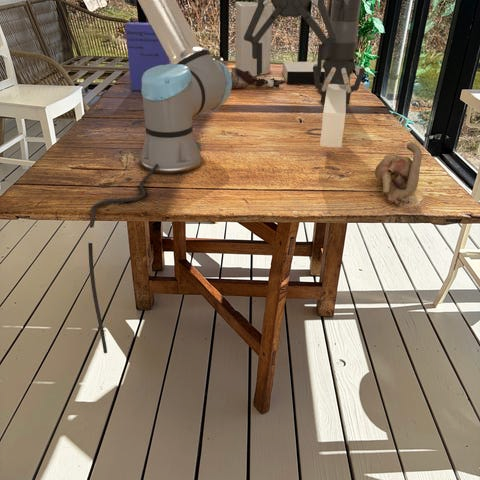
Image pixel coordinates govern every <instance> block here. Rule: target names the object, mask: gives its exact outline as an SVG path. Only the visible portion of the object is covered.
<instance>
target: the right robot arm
mask: <svg viewBox="0 0 480 480" xmlns="http://www.w3.org/2000/svg"><path fill="white" fill-rule="evenodd" d="M361 6H362V0H327V3H326V10H327V12H328V15H329V18H330V20H331V23H332V25H333V28H334V30H335V33H336V36H337V39H336V41H335V42H331V43H329V44H328V51H327V58H326V60H323V62H322V65H321V69H322V68H324V70H325V72H324V82H321V83H320V79H319V77H317V64H315V65H314V66H313V74H314V81H315V84H314V87H315V89H316V90H318V92H319V94H320V103H321V104H322V106H324V104H325V98H326V91H327V87H328V85H329V84H339V85H345V87H346V107H347V105H349V104H350V103H351V102H350V101H351V94H352V92H357V91H358V90H359V88H360V85H361V83H362V80H363V78H364V75H365V72H366V68H365V67H364V66H363V65H362V66H358V65H356V62H355V58H356V50H357V43H358V37H359V19H360V13H361V12H360V11H361ZM326 37H329V34H328V33H327V34H326ZM354 70H355V75H356V79H355V81H354V83H353V84H352V85H351V82H350V81H351V76H352V75H351V74H352V73H353V72H354Z"/></svg>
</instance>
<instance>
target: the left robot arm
mask: <svg viewBox="0 0 480 480" xmlns="http://www.w3.org/2000/svg"><path fill="white" fill-rule="evenodd" d="M137 1H138V3H139V5H140V7H141V9H142V11H143V13H144V15H145V17H146V18H147V20H148V23H150V24H151V26H152V28H153V30H154V32H155V33H156V35H157V37H158V39H159V41H160V43H161V45H162V47H163V49H164V50H165V52H166V54H167V56H168V58H169V60H170V62H171V64H166V65H159V66H155V67H153V68H150V69H148V70H147V71H146V72H145V73H144V74H143V76H142V90H141V91H140V93H141V98H142V106H143V115H144V125H145V138H144V142H143V146H142V150H141V154H140V162H141V166H142V168H144V169H145V170H146V171H149V172H148V173H147V174H146V175H145V176H144V177H143V178H142V180H141V181H140V182H139V189H140V191H141V194H140V195H138V196H135V197H125V198H108V199H104V200H100V201H98V202H96V203H94V204H93V205H92V206H91V208H90V222H89V229H92V228H94V227H95V220H96V209H97V208H99V207H101V206H103V205H106V204H112V203H132V202H138V201H140V200H142V199H144V198H145V197H146V195H147V192H146V189H145V188H144V185H145V183H146V181H148V179H149V178H151V176H152V175H153V174H154V173H156V174H163V175H164V174H165V175H169V174H170V175H172V174H173V175H175V174H182V173H187V172H190V171H193V170H195V169H197V168H198V167H199V166H201V163H202V155H201V151H202V145H201V144H200V143H199V142H197V140H196V137H195V135H194V130H193V129H194V126H193V117H194V116H198V115H200V114H203V113H205V112H208V111H212V110H215V109H217V108H219V107H220V106H222V105H224V104H225V103H226V102H227V101H228V99H229V98H230V96H231V94H232V93H231V92H232V89H233V88H232V79H231V72H230V70H229V68H228V67H227V66H226V64H224V63H223V62H221V61H219V60H215V59H214V58H213V56H212V54H211V52H210V50H209V49H208V48H205V47H203V46H201V45H200V43H199V42H198V40H197V38H196V36H195V34H194V32H193V31H192V28H191V27H190V24H189V23H188V21H187V18H186V17H185V15H184V13H183V10H181V8H180V5H179V4H178V1H177V0H137ZM311 2H313V4H314V6H316V7H317V8H318V12H319V14H320V16H321V19H322V22H323V25H324V26H325V29H326V32H327V34H325V33H324V31H323V30H322V29H321V27H320V26H319V25H318V23H317V21H316V20H315V19H314V17H313V16H312V14H311V12H310V11H309V10H308V9H307V8H308V6H309V5H310V4H311ZM257 3H258V6H257V8H256V11H255V13H254V15H253V17H252V20H251V22H250V24H249V26H248V29H247V31H246V33H245V35H244V40H245V41H249V42H251V43H252V57H253V59H257V76H261V75H262V74H261V73H262V43H259V40H260V39H261V38H262V36H263V35H264V34H265V32H266V31H267V30H268V29H269V27H270V26H271V25H272V26H273V24H274V22H276V20H277V19H278V17H279V16H280V17H282V18H289V17H290V18H295V19H296V18H299V17H302V18H303V20H304V21H305V22H306V23H307V25H308V26H309V27H310V29H311V30H312V31H313V33H314V34H315V36H316V37H317V38H318V40H319V41H320V42H321V43H318V47H317V61H316V62H317V77H320V75H321V65H322V64H323V61H325V60H326V58H327V51H328V44H329V43H331V42H335V41H336V39H337V36H336V33H335V30H334V28H333V25H332V23H331V20H330V18H329V15H328V12H327V6H326V5H325V0H257ZM270 3H271V4H273V8H275V9H273V12H272V14H271V16H270V17H269V18H268V20H267V21H266V22H265V23H264V25H263V26H262V27H261V29H260V30H259V31H258V33H257V34H256V35H255V36H252V34H253V32H254V30H255V28H256V25H257V23H258V21H259V19H260V17H261V14H262V12H263V10H264V7H265V6H267V5H268V4H270ZM328 34H329V37H327V35H328ZM214 60H215V61H214ZM260 74H261V75H260ZM87 246H88V249H87V251H88V266H89V277H90V284H91V286H90V287H91V293H92V298H93V299H92V300H93V303H94V309H95V314H96V319H97V324H98V329H99V334H100V338H101V344H102V350H103V354H107V353H108V348H107V340H106V336H105V331H104V325H103V320H102V315H101V310H100V305H99V300H98V294H97V293H98V292H97V287H96V279H95V270H94V269H95V268H94V256H93V255H94V251H93V242H88V245H87Z"/></svg>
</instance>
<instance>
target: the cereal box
mask: <svg viewBox="0 0 480 480" xmlns="http://www.w3.org/2000/svg"><path fill="white" fill-rule="evenodd" d="M124 29H125V30H124V31H125V39H126V50H127V58H128V69H129V78H130V88H131V91H137V92H138V91H139V92H141V90H142V76H143V74H144V73H145V72H146V71H147V70H148V69H150V68H153V67H155V66H159V65H166V64H171V62H170V60H169V58H168V56H167V54H166V52H165V50H164V49H163V47H162V45H161V43H160V41H159V39H158V37H157V35H156V33H155V32H154V30H153V28H152V26H151V24H150V22H137V21H136V22H135V21H134V22H133V21H131V22H130V21H128V22H125V23H124Z"/></svg>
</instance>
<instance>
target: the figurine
mask: <svg viewBox="0 0 480 480" xmlns="http://www.w3.org/2000/svg"><path fill="white" fill-rule="evenodd" d="M230 69H231V72H230V75H231V79H232V88H231V89H241V88H247V87H249V86H255V87H256V88H262V87H268V88H271V89H273V88H280V86H281V85H284V84H287V81H286V79H275V78H274V77H272V78H265V77H262V78H261V77H257V76H252V75H251V73H250V72H249V71H245V72H244V71H242V70H240V69H237V68H235V67H232V66H231V67H230Z"/></svg>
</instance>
